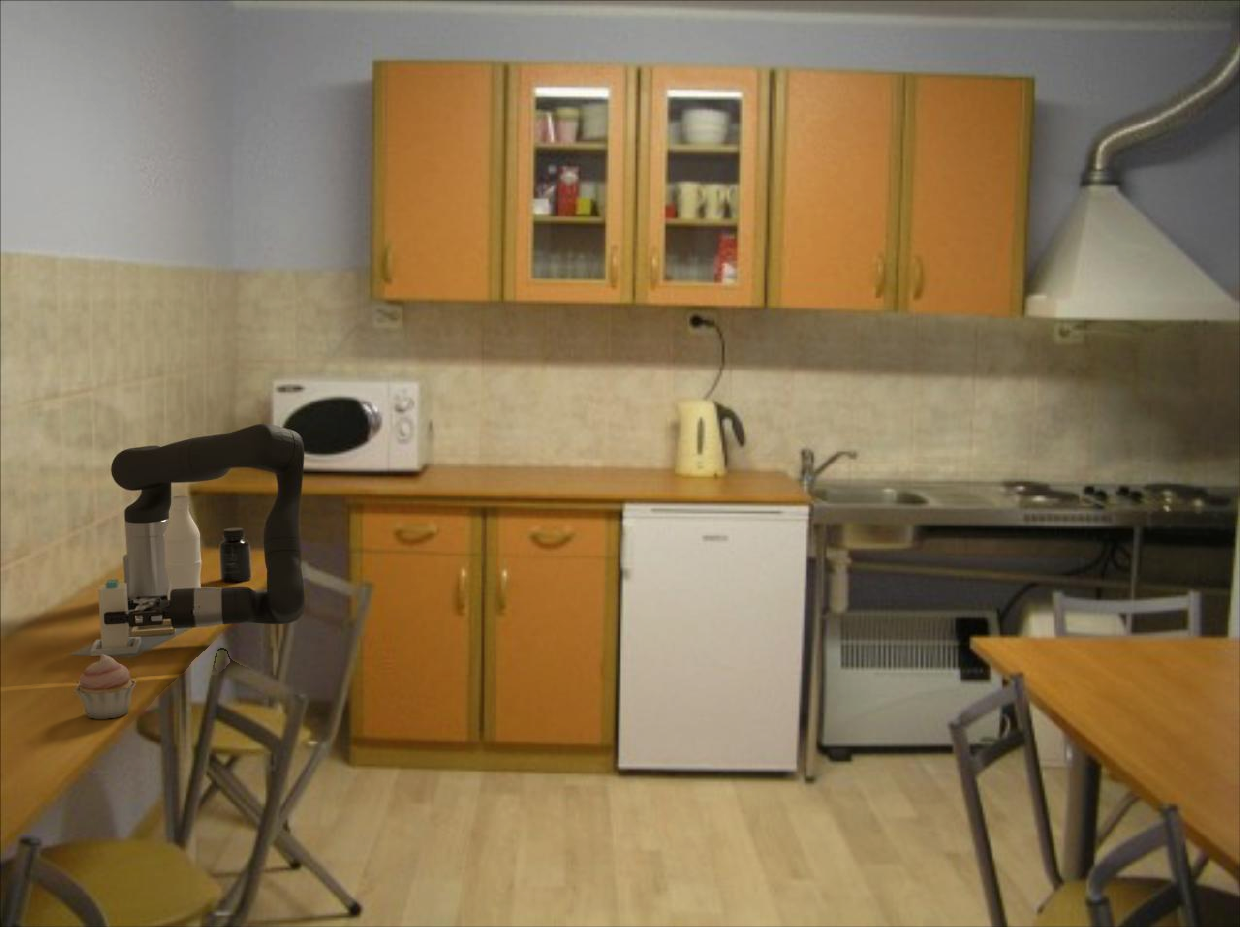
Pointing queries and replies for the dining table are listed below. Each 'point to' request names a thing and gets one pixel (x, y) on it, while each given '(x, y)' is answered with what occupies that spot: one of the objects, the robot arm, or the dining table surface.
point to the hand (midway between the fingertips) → (107, 613)
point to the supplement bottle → (234, 556)
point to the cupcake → (105, 689)
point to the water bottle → (182, 548)
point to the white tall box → (112, 601)
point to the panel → (136, 641)
